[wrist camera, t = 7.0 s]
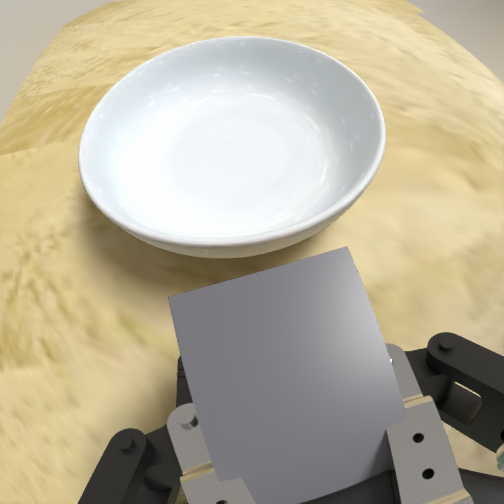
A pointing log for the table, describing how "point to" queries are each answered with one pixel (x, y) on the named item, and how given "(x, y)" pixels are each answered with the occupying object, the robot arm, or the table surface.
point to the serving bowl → (232, 146)
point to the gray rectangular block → (290, 378)
